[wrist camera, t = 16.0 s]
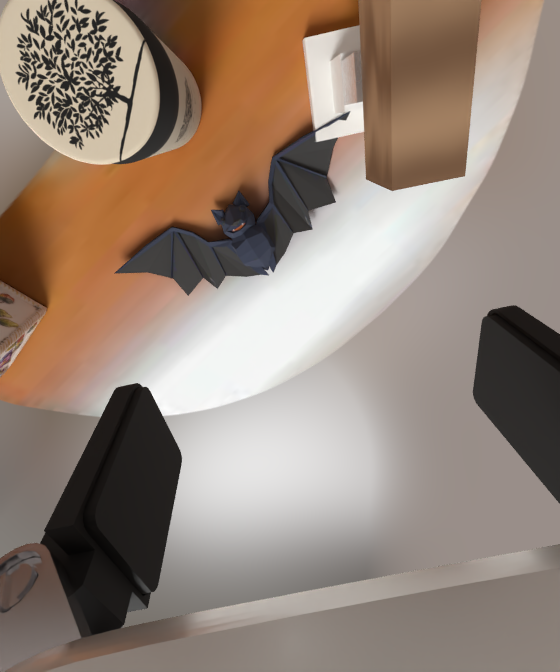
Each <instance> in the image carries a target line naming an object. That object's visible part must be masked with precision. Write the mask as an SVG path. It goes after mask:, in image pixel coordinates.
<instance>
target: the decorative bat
mask: <svg viewBox="0 0 560 672" xmlns="http://www.w3.org/2000/svg"><path fill="white" fill-rule="evenodd" d="M350 112H351V111H349V112H347V113H345V114H343V115H342V116H340V117H338V118H336V119H334V120H332V121H331V122H329V123H327V124H325V125H323V126H321V127H320V128H318V129H316V130H314V131H312V132H310V133H308V134H307V135H305V136H303V137H301V138H300V139H298V140H297V141H295V142H294V143H292V144H291V145H289V146H288V147H286V148H285V149H283V150H282V151H280V152H279V153H277V154H276V155H275V156H273V157H272V161H271V167H270V174H269V180H268V185H269V203H268V205H267V206H266V208H265V209H264V211H263V212H262V214H261V215H260V216H259V218H258V219H257V223H255V218H254V214H253V213H252V212H251V211H250V210H249V209H248V208H247V206H248V205H249V203H248V202H247V200H246V199H245V198H244V197H243V195H242V194H241V193H240V191H238V193H237V195H236V198H235V200H234V202H233V205H228V207H227V209H226V211H225V212H224V211H223V210H211V211H212V213H213V215H214V218H215V220H216V222H217V224H218V225H220V224H221V225H222V228H223V231H224V234H226V235H227V236H228V237H230V238H231V239H232V240H230V239H224V240H218V241H212V242H209V241H207V240H205V239H203V238H202V237H200V236H199V235H197V234H195V233H194V232H190V231H187V230H184V229H180V228H177V227H171V228H169V229H168V230H166V231H165V232H164V233H162V234H161V235H159V236H158V237H157V238H155V239H154V240H152V241H151V242H150V243H148V244H147V245H146V246H144V247H143V248H142V249H141V250H140V251H139V252H138V253H137V254H135V255H134V256H133V257H132V258H131V259H130V260H129V261H128V262H126V263H125V264H124V265H123V266H122V267H121V268H120V269H119V270H117V271H116V272H115V273H142V272H148V273H153V274H157V275H161V276H165V277H169V278H173V279H174V280H175V281H176V282H177V283H178V284H179V286H180V287H181V288H182V289H183V290H184V291H185V293H186V294H187V295H188V296H189V294H190V293H191V292H192V291H193V289H194V288H195V287H196V286H197V285H198V283H199V282H200V281H201V280H202V279H203V278H205V279H206V280H207V281H208V282H210V283H211V284H212V285H213V286H215V287H216V288H217V289H218V287H219V286H220V284H221V283H222V281H223V280H224V278H225V276H245V277H247V276H254V275H268V273H267V272H266V271H265V270H268V269H269V266H270V268H271V270H272V271H273V272H274V270H275V267H276V265H277V263H278V262H279V261H280V259H281V258H282V256H283V255H284V254H285V252H286V249H287V247H288V245H289V242H290V240H291V238H292V235H293V233H296V232H301V231H306V230H312V225H311V221H310V217H309V213H308V210H312V209H315V208H318V207H322V206H325V205H328V204H332V203H335V202H336V201H335V199H334V196H333V194H332V191H331V188H330V186H329V183H328V181H327V173H328V169H329V164H330V159H331V155H332V150H333V147H334V145H335V143H336V141H337V139H338V137H337V138H333V139H328V140H324V141H319V142H316V139H315V135H316V132H317V131H319V130H321V129H322V128H325V127H328V126H330V125H331V124H333V123H334V122H336V121H338V120H345V121H346V120H347V118H348V116H349V114H350Z"/></svg>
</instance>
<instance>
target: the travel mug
mask: <svg viewBox="0 0 560 672" xmlns="http://www.w3.org/2000/svg"><path fill="white" fill-rule="evenodd" d="M0 74H1V78H2V80H3V83H4V86H5V89H6V91H7V93H8V96H9V98H10V99H11V101H12V103H13V105H14V107H15V108H16V110H17V112H18V113H19V115H20V116H21V117H22V119H23V120H24V121H25V123H26V124H27V125H28V126H29V127H30V128H31V130H33V132H34V133H35V134H36V135H37V136H38V137H40V138H41V139H42V140H43V141H44V142H45V143H47V144H48V145H49V146H51V147H52V148H54V149H55V150H57V151H58V152H60V153H62V154H64V155H66V156H68V157H70V158H72V159H75V160H78V161H81V162H85V163H91V164H111V163H112V164H127V163H132V162H136V161H139V160H142V159H145V158H149V157H152V156H155V155H158V154H161V153H164V152H167V151H170V150H173V149H177V148H179V147H181V146H183V145H184V144H186V143H187V142H188V141H189V140H190V139H191V138H192V137H193V135H194V134H195V132H196V130H197V128H198V126H199V122H200V118H201V108H202V105H201V97H200V92H199V89H198V86H197V83H196V81H195V79H194V77H193V75H192V73H191V72H190V70H189V69H188V68H187V66H186V65H185V64H184V63H183V62H182V61H181V60H180V59H179V58H178V57H177V56H176V55H175V54H174V53H173V52H172V51H171V50H170V49H169V48H168V47H167V46H166V45H165V44H164V43H163V42H162V41H161V40H160V39H159V38H158V37H157V36H156V35H155V34H154V33H153V32H152V31H151V30H150V29H149V28H148V27H147V26H146V25H145V24H144V23H143V22H142V21H141V20H140V19H139V18H138V17H137V16H136V15H135V14H134V13H133V12H131V11H130V10H129V9H127V8H126V7H124V6H123V5H122V4H120V3H118V2H116V1H114V0H9V1H8V2H7V4H6V5H5V7H4V9H3V12H2V14H1V17H0Z"/></svg>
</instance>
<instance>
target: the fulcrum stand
mask: <svg viewBox="0 0 560 672" xmlns="http://www.w3.org/2000/svg"><path fill="white" fill-rule="evenodd" d="M303 49H304V57H305V65H306V74H307V82H308V90H309V98H310V107H311V115H312V123H313V131H314V130H316V129H318V128H320V127H321V126H323V125H325V124H327V123H329V122H331V121H332V120H334V119H336V118H338V117H340V116H342V115H343V114H345V113H347V112H349V111H351V112H350V114H349V116H348V118H347V120H346V121H345V120H338V121H336V122H334V123H333V124H331V125H330V126H328V127H325V128H322V129H321V130H319V131H317V132H316V135H315V139H316V142H319V141H324V140H328V139H333V138H337V137H342V136H346V135H351V134H355V133H360V132H364V118H363V94H362V71H361V48H360V25H358V26H354V27H350V28H345V29H341V30H337V31H332V32H328V33H324V34H319V35H315V36H311V37H306V38H304V39H303Z"/></svg>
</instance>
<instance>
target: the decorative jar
mask: <svg viewBox="0 0 560 672" xmlns="http://www.w3.org/2000/svg"><path fill="white" fill-rule="evenodd" d="M46 311H47V308H46V307H44V306H43V305H41V304H39V303H37V302H36V301H34V300H32V299H31V298H29V297H27V296H26V295H24V294H23V293H21V292H19V291H17V290H16V289H14V288H12V287H10V286H9V285H7V284H5V283H4V282H2V281H0V377H1V376H2V375H3V374H4V373H5V372H6V371H7V369H8V368H9V367H10V366H11V364H12V363H13V362H14V360H15V358H16V357H17V355H18V354H19V352H20V351H21V350H22V348H23V346H24V345H25V344H26V342H27V341H28V339H29V338H30V336H31V335H32V333H33V332H34V330H35V328H36V327H37V325H38V324H39V322H40V321H41V319H42V318H43V316H44V315H45V313H46Z"/></svg>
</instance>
